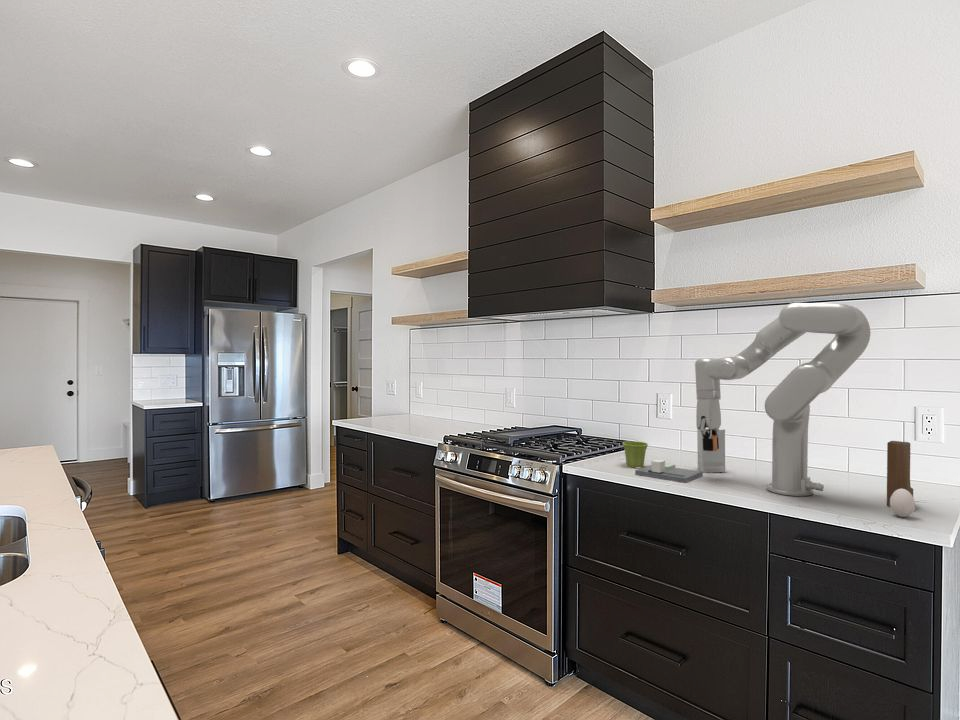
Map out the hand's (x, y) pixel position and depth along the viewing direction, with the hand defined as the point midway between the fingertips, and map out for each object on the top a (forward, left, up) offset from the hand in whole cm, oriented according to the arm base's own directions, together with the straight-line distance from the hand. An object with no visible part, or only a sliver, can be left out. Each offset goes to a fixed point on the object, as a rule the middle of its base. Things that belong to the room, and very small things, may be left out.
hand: (711, 449), depth 189 cm
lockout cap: (0, 0, 0) cm, 0 cm away
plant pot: (+29, -2, -10) cm, 31 cm away
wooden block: (-51, -4, -10) cm, 52 cm away
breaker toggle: (+15, +8, -8) cm, 19 cm away
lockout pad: (+17, -1, -9) cm, 19 cm away
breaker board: (+13, +4, -10) cm, 17 cm away
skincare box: (+5, -13, -10) cm, 18 cm away
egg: (-53, +9, -10) cm, 55 cm away
